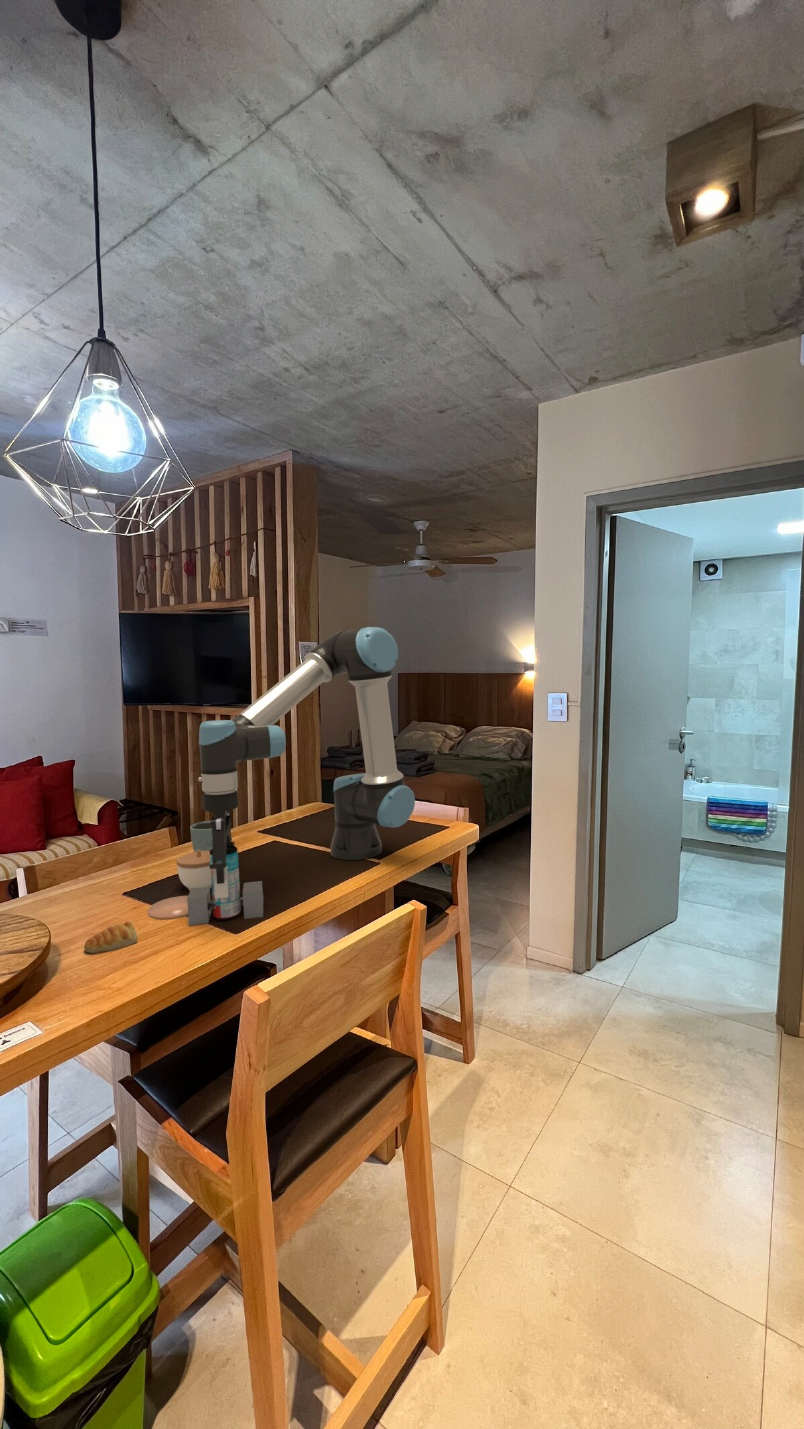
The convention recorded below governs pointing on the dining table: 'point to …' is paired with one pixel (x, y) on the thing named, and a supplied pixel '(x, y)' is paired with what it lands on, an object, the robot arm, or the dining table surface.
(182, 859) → the lidded jar
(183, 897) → the coaster
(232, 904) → the beverage can
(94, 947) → the pastry
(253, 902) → the dumbbell
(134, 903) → the dining table surface
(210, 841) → the green plant pot
